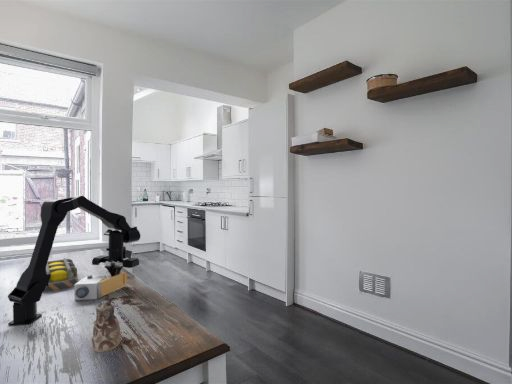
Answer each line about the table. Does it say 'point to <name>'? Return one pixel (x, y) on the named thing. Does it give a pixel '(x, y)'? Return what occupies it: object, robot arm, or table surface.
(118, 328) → the figurine
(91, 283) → the block
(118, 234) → the robot arm
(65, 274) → the cage light
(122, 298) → the table surface
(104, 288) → the side door
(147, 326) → the table surface
